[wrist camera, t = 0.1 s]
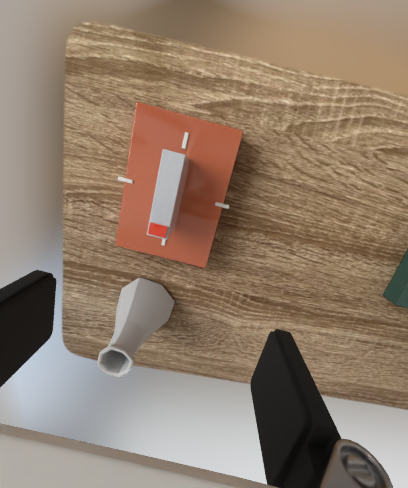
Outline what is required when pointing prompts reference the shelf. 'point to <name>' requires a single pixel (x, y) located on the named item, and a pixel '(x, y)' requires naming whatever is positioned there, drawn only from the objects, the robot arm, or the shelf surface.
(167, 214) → the tap handle
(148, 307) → the flask
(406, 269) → the button block
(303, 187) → the shelf surface
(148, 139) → the panel
